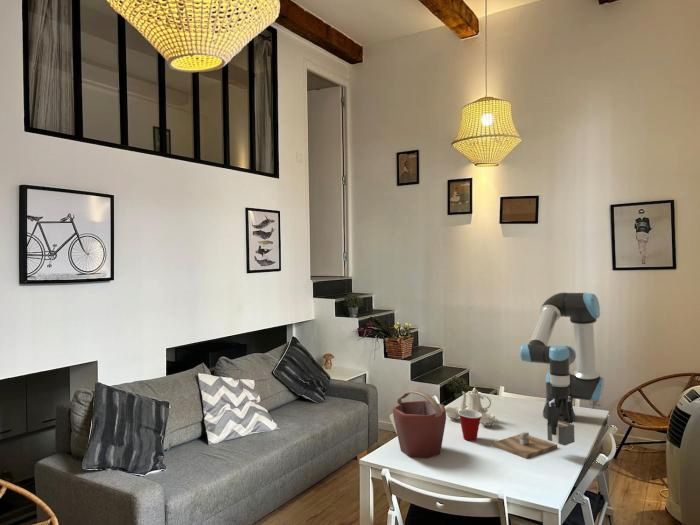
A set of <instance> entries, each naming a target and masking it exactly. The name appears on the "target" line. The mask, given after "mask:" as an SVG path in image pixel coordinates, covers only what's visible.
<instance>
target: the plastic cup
mask: <svg viewBox="0 0 700 525" xmlns="http://www.w3.org/2000/svg"><path fill="white" fill-rule="evenodd" d="M458 414H459V422H460V427H461V432H462V436H463V437H462V438H463V439H464V440H465V441H468V442H472V441H476V440H477V439H478V433H479V429H480V419H481V417H482V414H481V413H480V412H477V411H474V410H460V411H458Z"/></svg>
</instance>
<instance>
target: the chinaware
mask: <svg viewBox="0 0 700 525" xmlns="http://www.w3.org/2000/svg"><path fill="white" fill-rule="evenodd" d="M461 393H462V400H461V403H460V407H456V406H455V407H450V406H448V407H445V410H446V417H448V418H449V419H450V421H453V422H455V421H457V420H458V418H459V419H460V417H459V414H458V411H460V410H474V411H477V412H480V413H481V414H482V417H481V419H480V422H479V424H481V425H482V427H484V428H489V427H492V426H493V425H494V426H496V425H497V424H498V419H497V418H495V417H496V416H495V415H494V414H493V413H487V412H488V411H489V410H488V409H489V408H490V407H491V404H492V400H491V398H490V397H488V396H486V395H482V392H480V391H478V389H477V388H476V387H474V388H473V389H472V390H471V391H469V392H468V396H469V402H468V406H467V405H466V404H467V394H466V392H465V391H463V390H462V391H461ZM484 398H486V399H488V401H489V405H488V406H487V407H483V405H482V402H481V400H484ZM493 421H496V423H493Z"/></svg>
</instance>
